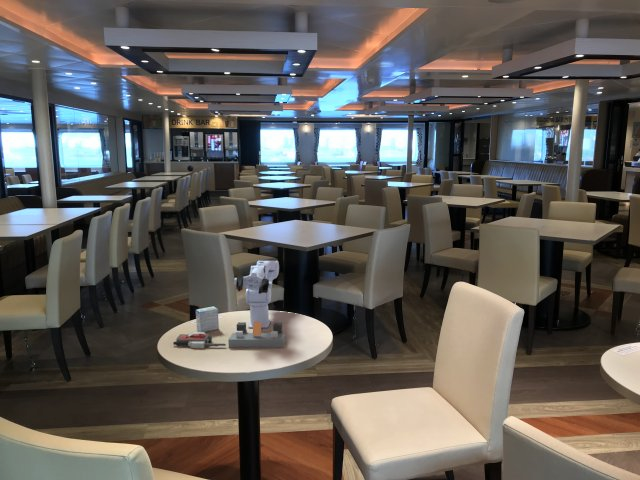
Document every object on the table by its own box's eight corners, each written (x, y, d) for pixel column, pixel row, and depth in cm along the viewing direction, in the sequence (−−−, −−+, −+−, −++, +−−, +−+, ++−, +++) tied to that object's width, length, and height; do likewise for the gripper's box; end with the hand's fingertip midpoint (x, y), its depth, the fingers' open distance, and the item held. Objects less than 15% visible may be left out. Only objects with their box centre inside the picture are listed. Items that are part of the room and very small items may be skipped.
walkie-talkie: (171, 349, 191) (225, 349, 190) (170, 337, 190) (224, 338, 189) (178, 340, 199) (230, 340, 198) (178, 329, 198) (229, 329, 198)
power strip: (232, 340, 198) (232, 327, 197) (285, 340, 196) (284, 328, 196) (228, 347, 191) (228, 334, 190) (282, 347, 189) (282, 334, 189)
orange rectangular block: (253, 335, 193) (253, 322, 195) (261, 335, 193) (261, 322, 194) (252, 335, 192) (253, 321, 194) (260, 335, 192) (261, 321, 193)
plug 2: (277, 331, 206) (276, 317, 205) (284, 331, 206) (284, 317, 205) (273, 340, 197) (273, 325, 196) (281, 340, 197) (281, 325, 196)
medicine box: (215, 326, 214) (213, 306, 213) (219, 329, 211) (218, 308, 209) (196, 330, 210) (195, 309, 208) (200, 333, 206) (199, 312, 205)
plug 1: (242, 331, 207) (241, 317, 206) (249, 331, 207) (249, 317, 206) (237, 340, 198) (236, 324, 197) (244, 340, 198) (244, 325, 197)
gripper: (237, 267, 205) (230, 277, 191) (274, 271, 204) (269, 281, 191) (236, 284, 206) (229, 295, 193) (272, 288, 206) (268, 300, 193)
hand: (249, 289), depth 192 cm, fingers open, 7 cm apart
